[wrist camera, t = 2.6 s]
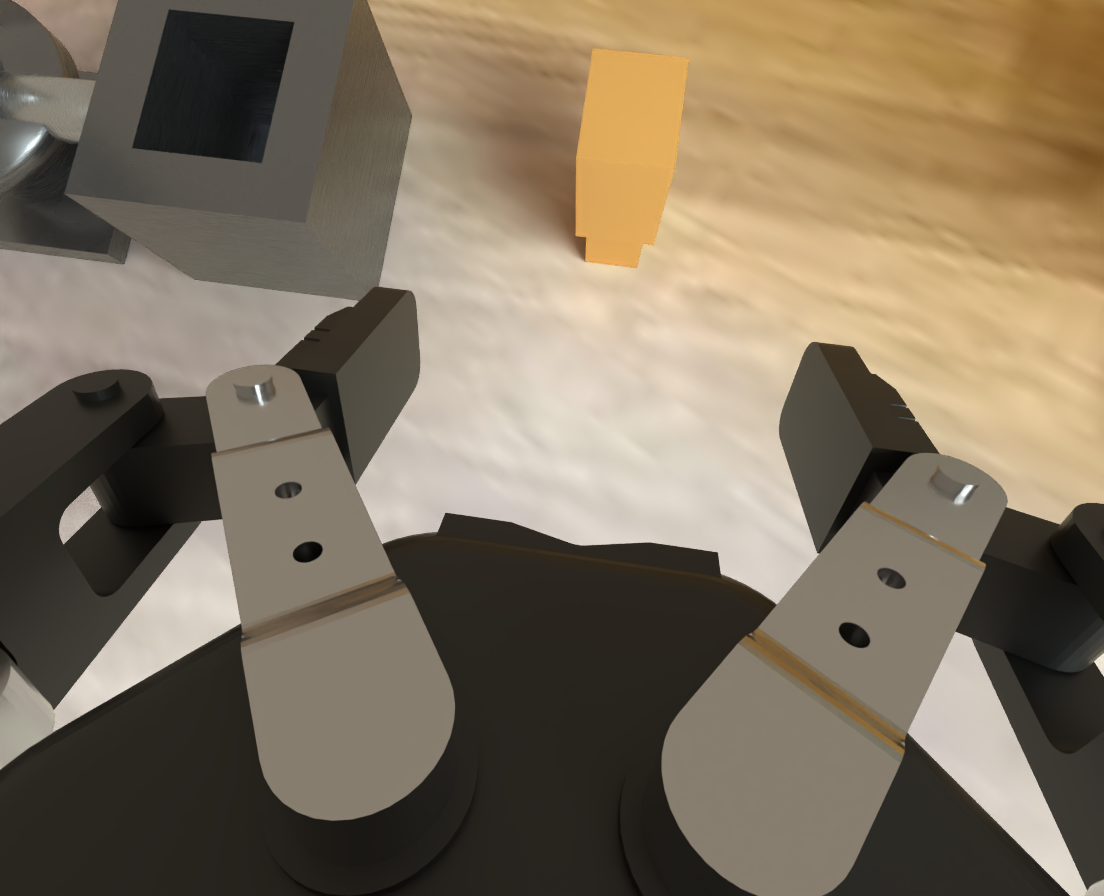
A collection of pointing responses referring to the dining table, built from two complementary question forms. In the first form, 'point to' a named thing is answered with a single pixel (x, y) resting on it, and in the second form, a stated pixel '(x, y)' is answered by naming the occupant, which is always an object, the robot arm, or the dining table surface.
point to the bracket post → (208, 142)
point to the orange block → (627, 151)
